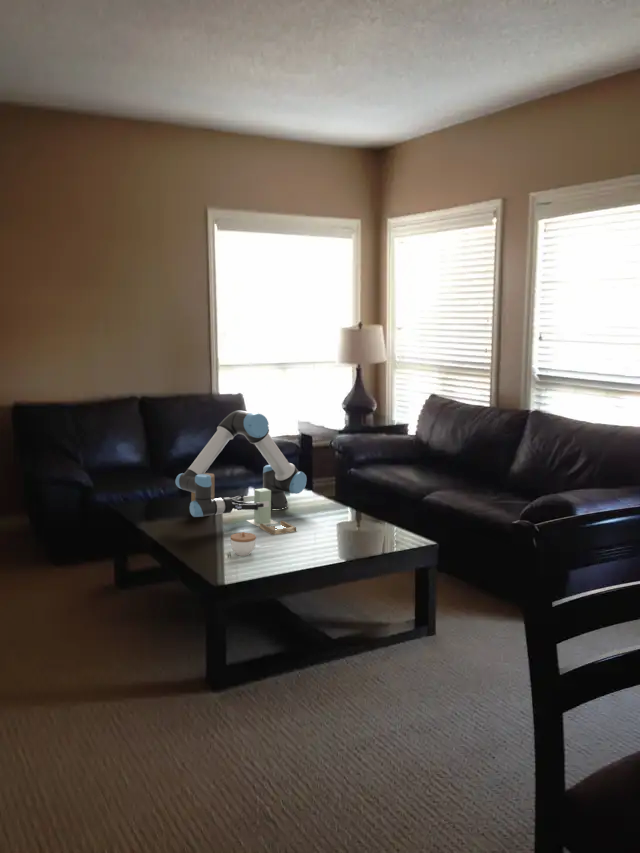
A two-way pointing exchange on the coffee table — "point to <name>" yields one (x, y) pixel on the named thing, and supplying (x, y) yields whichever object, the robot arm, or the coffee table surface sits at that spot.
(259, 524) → the pad
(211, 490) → the block
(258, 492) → the tall block
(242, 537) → the lidded jar
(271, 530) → the shallow wooden tray
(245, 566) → the coffee table surface
